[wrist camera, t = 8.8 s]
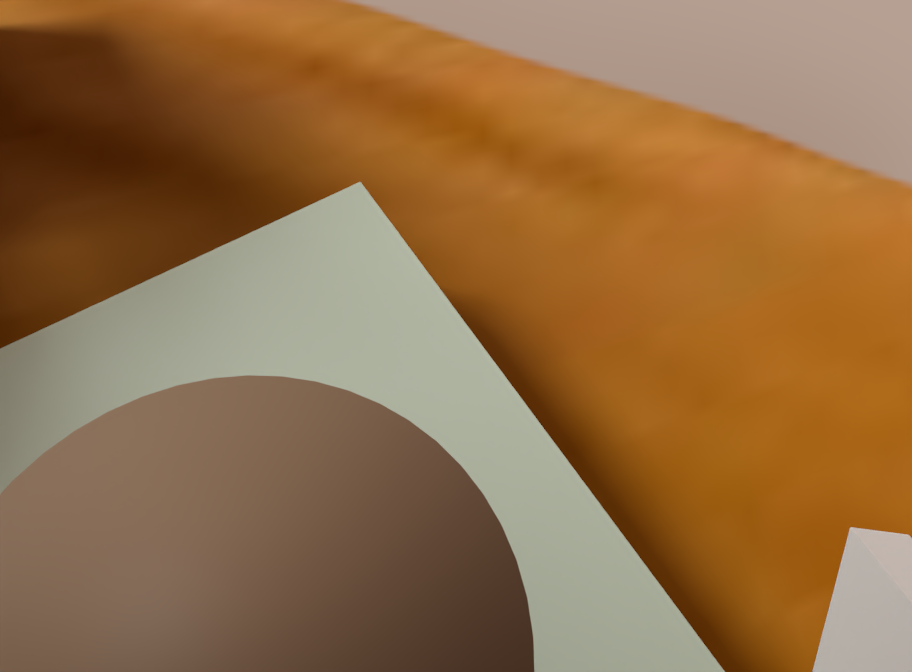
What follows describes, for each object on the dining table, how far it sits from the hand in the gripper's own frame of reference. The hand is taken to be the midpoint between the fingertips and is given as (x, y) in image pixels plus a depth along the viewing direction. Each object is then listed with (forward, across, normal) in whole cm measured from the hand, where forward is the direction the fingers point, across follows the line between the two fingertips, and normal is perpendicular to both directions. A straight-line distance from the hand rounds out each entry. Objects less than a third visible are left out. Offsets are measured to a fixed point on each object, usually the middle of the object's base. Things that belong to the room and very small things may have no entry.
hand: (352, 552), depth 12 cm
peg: (+4, 0, -7) cm, 8 cm away
